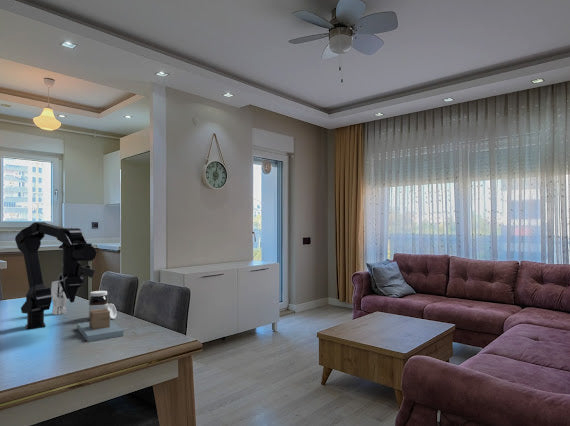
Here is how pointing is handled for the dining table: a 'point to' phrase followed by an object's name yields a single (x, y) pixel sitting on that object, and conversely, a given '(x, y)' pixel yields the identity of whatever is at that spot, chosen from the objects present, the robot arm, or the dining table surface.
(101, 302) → the spread jar
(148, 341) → the dining table surface
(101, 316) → the walnut cube
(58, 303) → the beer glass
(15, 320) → the dining table surface
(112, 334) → the slate board
